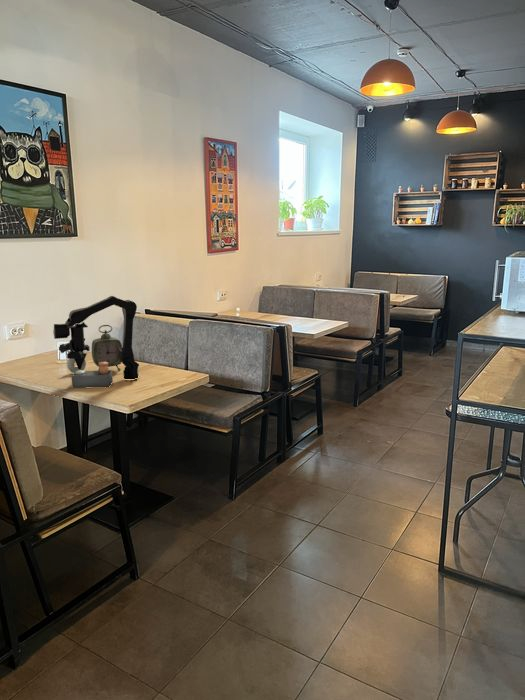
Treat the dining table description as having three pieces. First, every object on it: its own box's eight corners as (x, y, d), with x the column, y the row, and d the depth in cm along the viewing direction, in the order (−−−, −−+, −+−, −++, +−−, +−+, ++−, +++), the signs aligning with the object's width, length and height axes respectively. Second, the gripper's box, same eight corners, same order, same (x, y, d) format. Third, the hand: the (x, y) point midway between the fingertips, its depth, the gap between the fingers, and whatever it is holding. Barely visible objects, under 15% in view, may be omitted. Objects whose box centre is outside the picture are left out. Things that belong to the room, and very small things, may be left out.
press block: (112, 382, 252) (112, 370, 251) (109, 387, 243) (108, 375, 242) (77, 382, 250) (76, 371, 249) (72, 388, 241) (71, 375, 240)
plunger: (86, 381, 248) (86, 370, 247) (84, 383, 244) (83, 372, 243) (77, 381, 248) (76, 370, 247) (75, 384, 243) (74, 372, 242)
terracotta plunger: (109, 372, 248) (108, 361, 247) (107, 375, 244) (107, 363, 243) (100, 373, 248) (99, 361, 247) (98, 375, 244) (97, 364, 242)
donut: (70, 375, 263) (68, 356, 261) (66, 374, 266) (65, 355, 264) (87, 371, 271) (86, 353, 269) (84, 370, 273) (83, 352, 271)
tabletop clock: (95, 374, 265) (92, 327, 260) (92, 370, 273) (89, 324, 268) (123, 371, 272) (121, 325, 267) (119, 367, 280) (117, 322, 275)
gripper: (65, 333, 249) (67, 364, 253) (54, 341, 231) (56, 374, 234) (88, 333, 250) (90, 364, 254) (79, 340, 232) (81, 374, 236)
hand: (79, 369), depth 244 cm, fingers closed
